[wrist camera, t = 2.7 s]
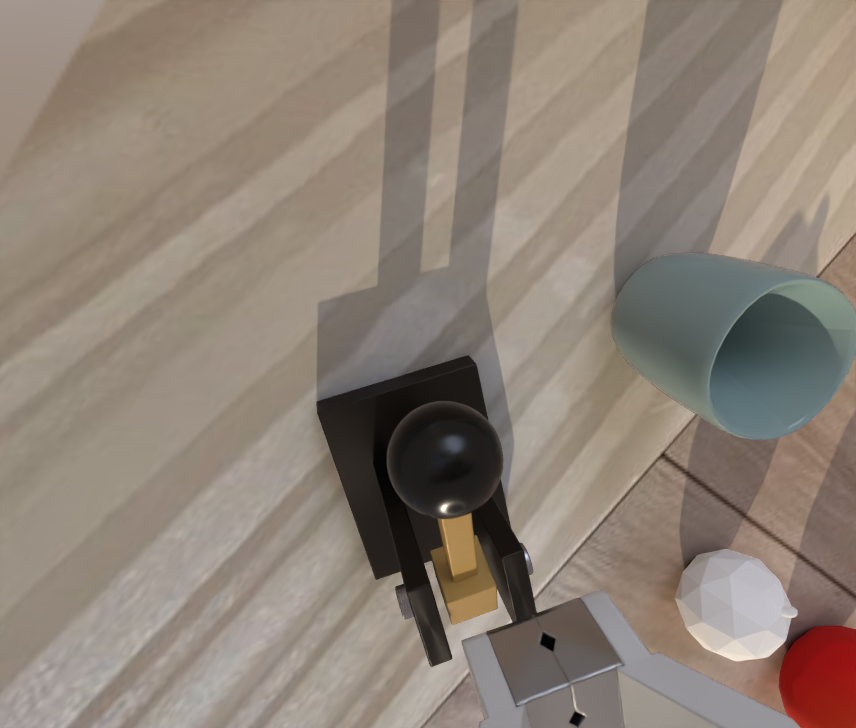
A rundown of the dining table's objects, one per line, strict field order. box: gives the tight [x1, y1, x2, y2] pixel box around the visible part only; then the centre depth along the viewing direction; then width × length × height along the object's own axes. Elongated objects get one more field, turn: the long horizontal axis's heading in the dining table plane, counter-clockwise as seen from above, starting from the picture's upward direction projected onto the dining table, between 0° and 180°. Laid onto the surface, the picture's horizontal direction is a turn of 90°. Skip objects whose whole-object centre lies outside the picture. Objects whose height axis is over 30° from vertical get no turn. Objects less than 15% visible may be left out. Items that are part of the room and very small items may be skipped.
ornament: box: [675, 549, 798, 661], centre depth 39 cm, size 7×7×8 cm
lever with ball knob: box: [387, 401, 503, 625], centre depth 21 cm, size 13×4×4 cm, turn 14°
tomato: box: [779, 626, 856, 728], centre depth 45 cm, size 9×10×8 cm
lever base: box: [317, 355, 537, 667], centre depth 28 cm, size 12×9×12 cm
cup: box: [611, 252, 856, 440], centre depth 29 cm, size 8×8×10 cm
